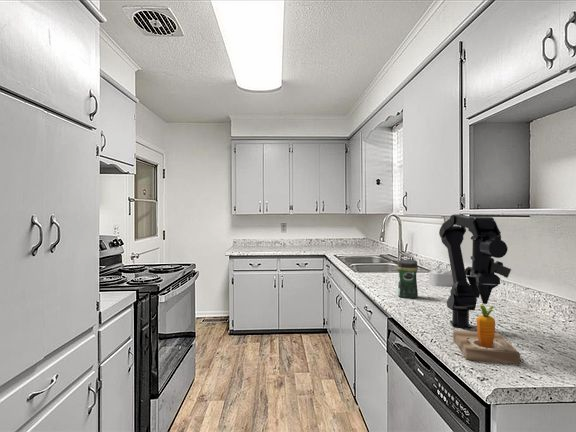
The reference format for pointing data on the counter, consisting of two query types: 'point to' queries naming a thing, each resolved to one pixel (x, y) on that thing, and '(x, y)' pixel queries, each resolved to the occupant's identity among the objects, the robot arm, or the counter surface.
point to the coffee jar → (407, 279)
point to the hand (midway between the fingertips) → (481, 300)
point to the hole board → (474, 351)
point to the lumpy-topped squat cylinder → (440, 278)
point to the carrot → (485, 327)
